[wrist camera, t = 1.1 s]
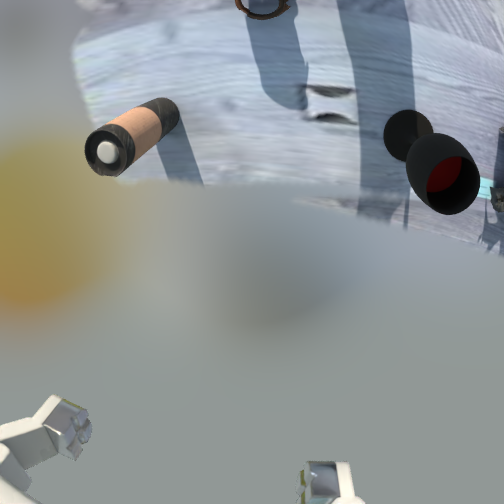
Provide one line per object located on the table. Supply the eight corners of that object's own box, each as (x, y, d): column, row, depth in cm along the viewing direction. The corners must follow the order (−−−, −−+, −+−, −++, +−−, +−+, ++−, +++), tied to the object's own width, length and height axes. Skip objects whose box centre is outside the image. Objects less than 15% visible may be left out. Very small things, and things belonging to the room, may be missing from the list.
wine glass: (437, 155, 46) (485, 211, 31) (390, 167, 50) (423, 227, 35) (427, 104, 41) (483, 142, 26) (376, 116, 44) (413, 158, 29)
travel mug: (162, 88, 47) (101, 117, 32) (188, 116, 50) (137, 157, 35) (137, 113, 50) (75, 152, 35) (162, 140, 54) (108, 188, 39)
